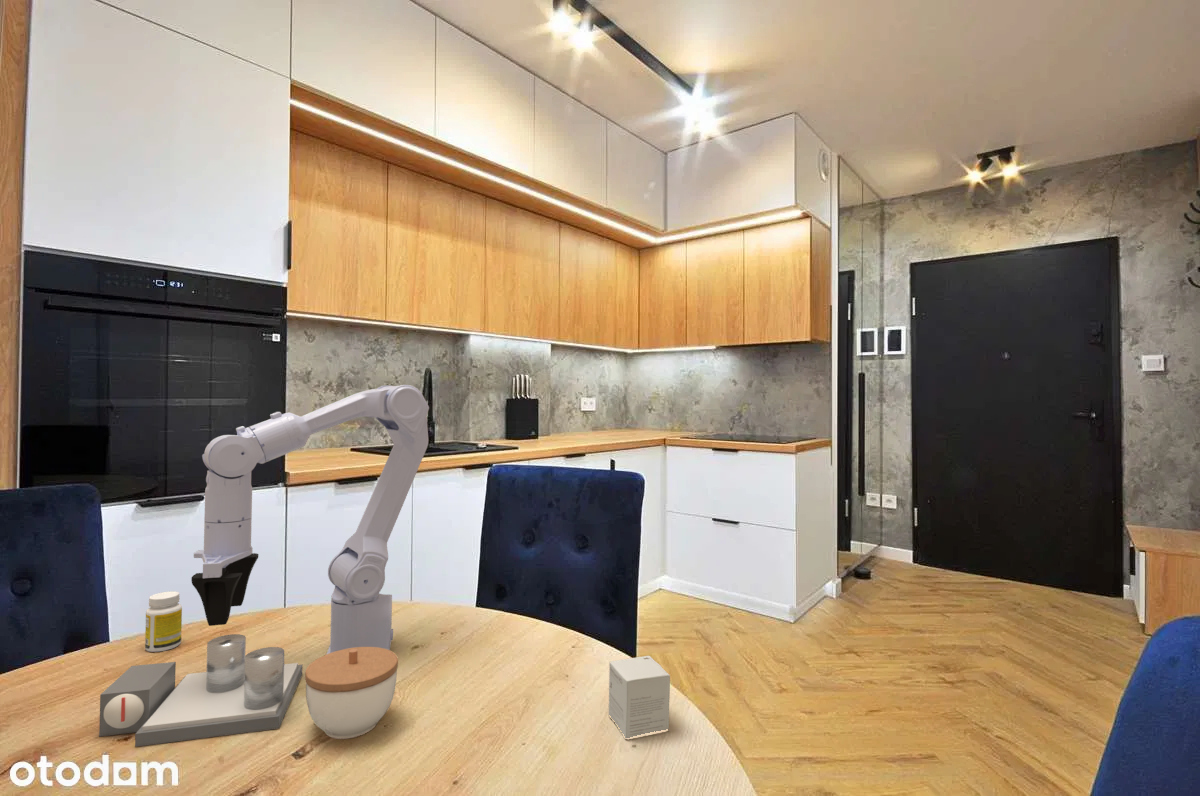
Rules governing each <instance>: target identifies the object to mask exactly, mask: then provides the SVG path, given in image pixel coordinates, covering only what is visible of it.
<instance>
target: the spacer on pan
mask: <svg viewBox="0 0 1200 796" xmlns="http://www.w3.org/2000/svg"><path fill="white" fill-rule="evenodd" d="M284 664H285V649H284V648H282V647H278V646H270V647H262V648H257V649H255V650H252V651H250V652H248V653H247V654H245V676H244V707H245V708H246V709H249V710H260V709H265V708H269V707H272V706H274V705H276V704H278V703H279V702H281V701H282V699H283V685H284Z"/></svg>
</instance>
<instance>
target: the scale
mask: <svg viewBox="0 0 1200 796" xmlns="http://www.w3.org/2000/svg"><path fill="white" fill-rule="evenodd" d="M176 665H177V662H176V661H170V662H169V661H168V662H161V663H160V662H159V663H158V662H157V663H148V664H147V663H146V664H140V665H139V664H138V665H137V664H136V665H131V666H130V667H129V668H128V669H127V670H125V671H124V673H122V674H121V675H120V676H119V677H118V678H117V679H116V680H115V681H114V682H112V683H111V684H110V685H109V686H108V687H107V688H106V689H105V690H103V692H101V693H100V698H99V730H98V731H99V732H98V737H107V736H115V735H125V734H132V733H134V734H135V735H134V736H135V737H134V738H135V740H134V747H135V748H136V747H145V746H151V745H152V746H153V745H159V744H168V743H174V742H183V741H190V740H197V739H198V740H199V739H207V738H208V739H209V738H215V737H216V738H217V737H223V736H230V735H237V734H245V733H246V734H247V733H252V732H260V731H269V730H276V729H280V727H281V725H282V722H283V720H284V718H285V715H286V713H287V710H288V708H289V706H290V703H291V702H292V699H293V697H294V694H295V693H296V690H297V688H298V685H299V683H300V680H302V679H301V678H302V676H303V667H304V666H303V664H299V662H296V663H295V662H292V663H284V685H283V699H282V701H281V702H279V703H278V704H276V705H274V706H272V707H269V708H265V709H260V710H249V709H246V708H245V707H244V684H243V685H242V686H241V687H239V688H237V689H234V690H232V691H228V692H223V693H210V692H207V691H206V674H207V671H202V672H193V673H187V674H186V675H185V676H184V677H183V678H182V679H181V680H180V681H179V683H177V684H176V669H177V668H176Z"/></svg>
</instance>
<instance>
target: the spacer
mask: <svg viewBox="0 0 1200 796" xmlns="http://www.w3.org/2000/svg"><path fill="white" fill-rule="evenodd" d="M246 639H247V637H246V635H244V634H239V633H236V634H231V633H230V634H226V635H221V636H217V637H214V638H212V639H210V640H209V641H208V642H207V643H206V645H207V647H206V672H207V674H206V691H207V692H210V693H223V692H228V691H232V690H234V689H237V688H239V687H241V686H242V685H243V684H244V676H245V656H246V646H247V645H246V644H247V642H246Z"/></svg>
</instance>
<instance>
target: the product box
mask: <svg viewBox="0 0 1200 796" xmlns="http://www.w3.org/2000/svg"><path fill="white" fill-rule="evenodd" d="M608 666H609V667H608V668H609V671H608V672H609V674H608V675H609V676H608V677H609V680H608V685H609V686H608V716H609V715H610V716H611V718H612V719H613V720H614V721H615V723H616V724H617V725H618V727H619V728H620V730H621V731H622V733H623V734H624V736H625V738H630V737H633V736H637V735H641V734H645V733H650V732H654V731H655V732H656V731H661V730H666V729H669V730H670V726H669V725H670V698H671V697H670V694H671V693H670V691H671V690H670V689H671V675H670V674H669V673H668V672H667V671H666V670H665V669H664V668H663V667H662V665H661V664H659V662H657V661H656V660H654V658H653V657H652V656H650V655H644V656H638V657H637V656H636V657H632V658H631V657H630V658H623V659H617V660H612V661H609V665H608Z"/></svg>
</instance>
